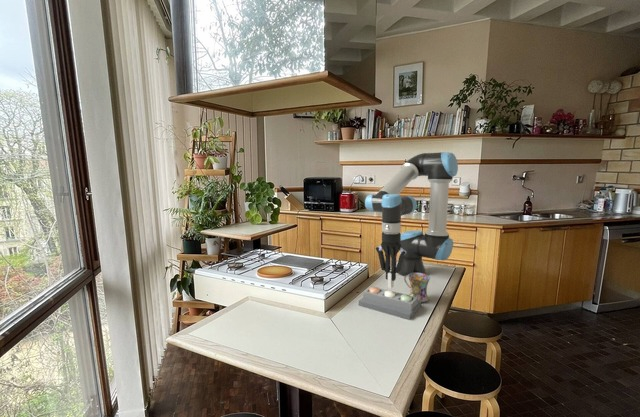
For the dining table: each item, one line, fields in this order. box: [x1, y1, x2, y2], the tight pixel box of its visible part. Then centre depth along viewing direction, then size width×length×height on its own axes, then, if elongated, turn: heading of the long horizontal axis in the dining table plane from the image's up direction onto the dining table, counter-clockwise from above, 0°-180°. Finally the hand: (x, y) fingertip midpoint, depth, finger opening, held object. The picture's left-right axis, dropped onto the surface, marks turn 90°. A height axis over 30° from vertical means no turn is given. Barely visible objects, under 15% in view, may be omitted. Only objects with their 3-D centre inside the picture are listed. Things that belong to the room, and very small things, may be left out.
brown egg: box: [369, 286, 380, 294], centre depth 133 cm, size 4×4×4 cm
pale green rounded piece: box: [401, 293, 412, 302], centre depth 125 cm, size 4×4×4 cm
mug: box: [403, 273, 431, 303], centre depth 135 cm, size 12×9×11 cm
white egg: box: [385, 290, 396, 298], centre depth 129 cm, size 4×4×4 cm
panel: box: [358, 285, 422, 321], centre depth 129 cm, size 14×22×5 cm, turn 54°
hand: (390, 287), depth 129 cm, fingers closed
